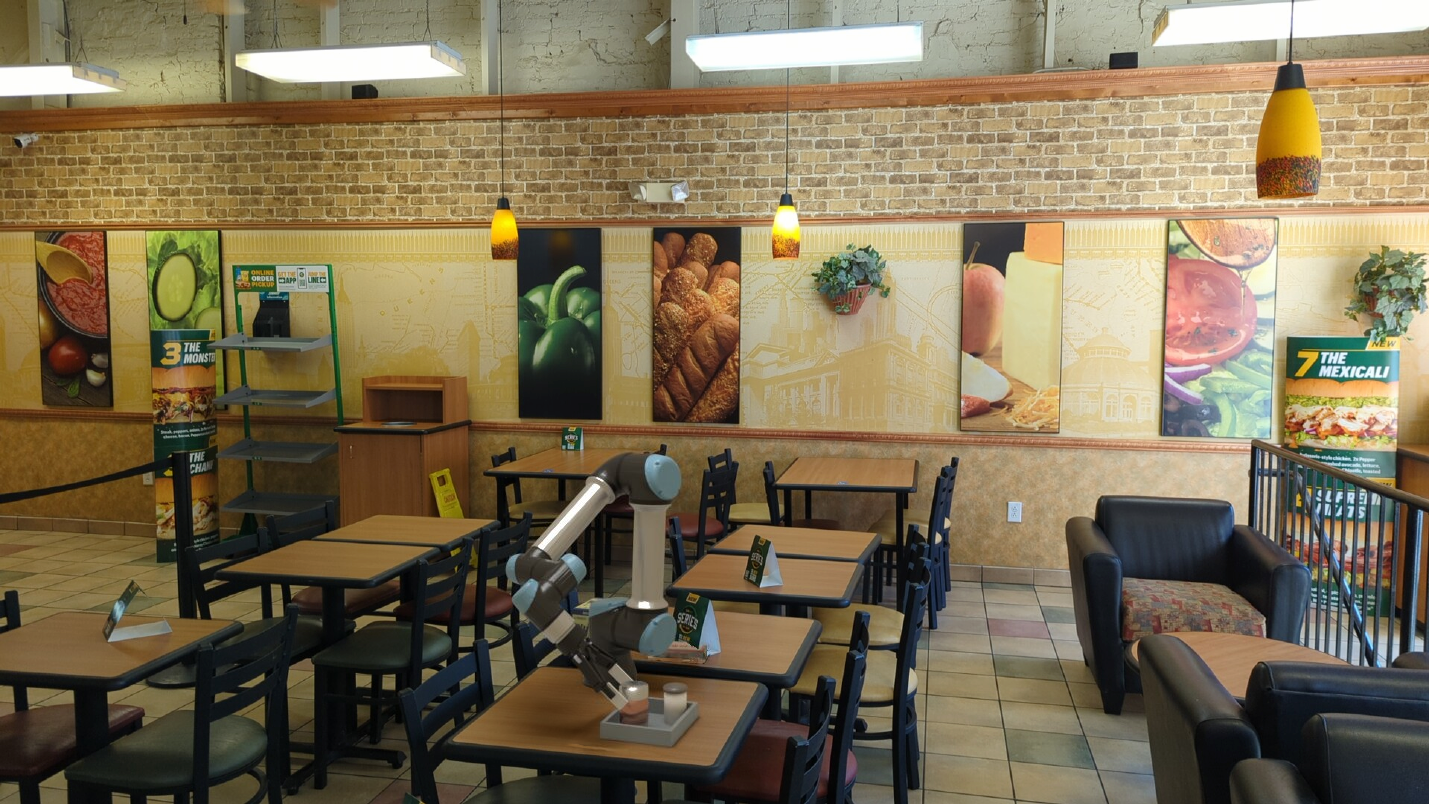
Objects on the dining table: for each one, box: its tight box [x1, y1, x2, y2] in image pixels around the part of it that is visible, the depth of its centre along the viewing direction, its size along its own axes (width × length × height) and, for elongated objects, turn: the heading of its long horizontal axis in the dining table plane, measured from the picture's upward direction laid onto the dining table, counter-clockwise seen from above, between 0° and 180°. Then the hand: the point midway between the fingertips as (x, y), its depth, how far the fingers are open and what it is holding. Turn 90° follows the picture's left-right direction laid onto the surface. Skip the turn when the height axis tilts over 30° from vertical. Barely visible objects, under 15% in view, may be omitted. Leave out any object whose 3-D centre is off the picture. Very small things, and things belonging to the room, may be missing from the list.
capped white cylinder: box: [663, 690, 688, 725], centre depth 245 cm, size 6×6×8 cm
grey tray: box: [599, 696, 699, 748], centre depth 241 cm, size 18×20×4 cm
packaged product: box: [646, 640, 709, 662], centre depth 299 cm, size 18×5×10 cm
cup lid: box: [662, 682, 688, 694], centre depth 245 cm, size 6×6×1 cm
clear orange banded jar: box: [618, 680, 649, 727], centre depth 239 cm, size 7×7×11 cm
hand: (627, 695), depth 238 cm, fingers open, 13 cm apart
